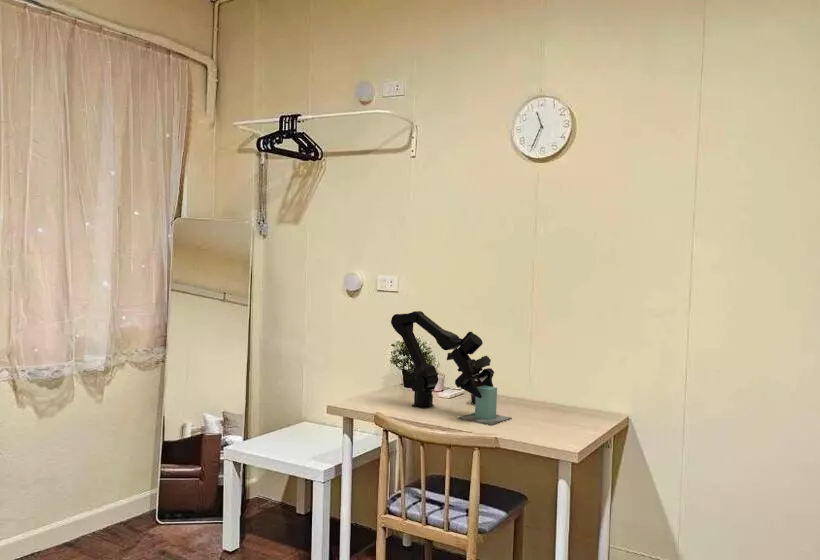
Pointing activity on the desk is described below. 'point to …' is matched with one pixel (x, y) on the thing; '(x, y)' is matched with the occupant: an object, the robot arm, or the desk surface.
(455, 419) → the desk surface
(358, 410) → the desk surface
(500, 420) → the flat grey base tile
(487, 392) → the teal rectangular pillar
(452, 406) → the desk surface
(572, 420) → the desk surface
